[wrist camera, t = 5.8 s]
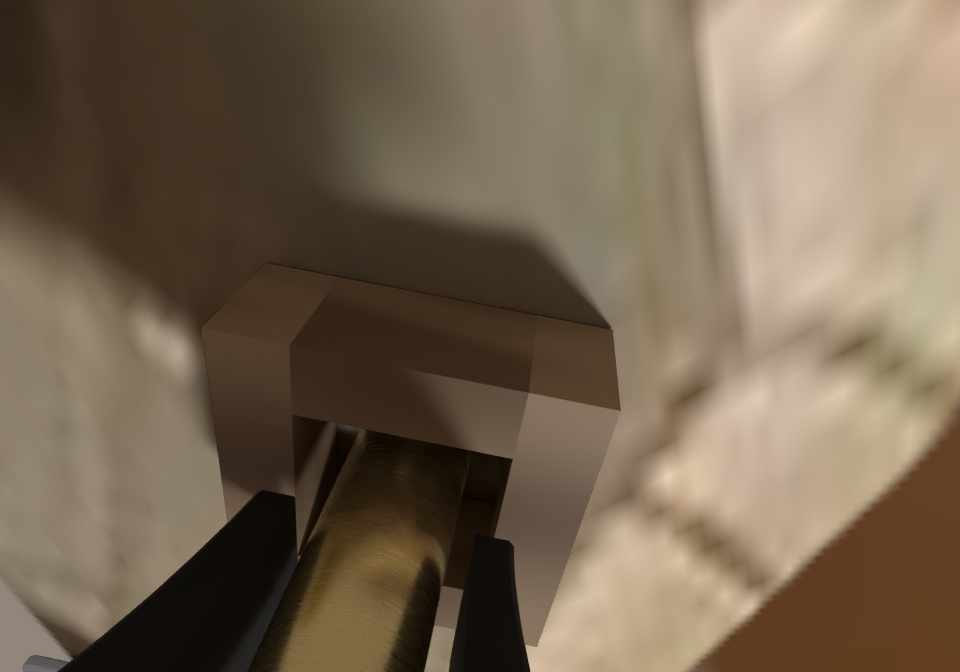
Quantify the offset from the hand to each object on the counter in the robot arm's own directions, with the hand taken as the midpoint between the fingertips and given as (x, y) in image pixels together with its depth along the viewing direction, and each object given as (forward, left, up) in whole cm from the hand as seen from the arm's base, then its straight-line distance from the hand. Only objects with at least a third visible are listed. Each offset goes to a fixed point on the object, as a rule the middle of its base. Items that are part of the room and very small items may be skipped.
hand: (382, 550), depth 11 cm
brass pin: (0, 0, -3) cm, 3 cm away
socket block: (0, 0, -3) cm, 3 cm away
